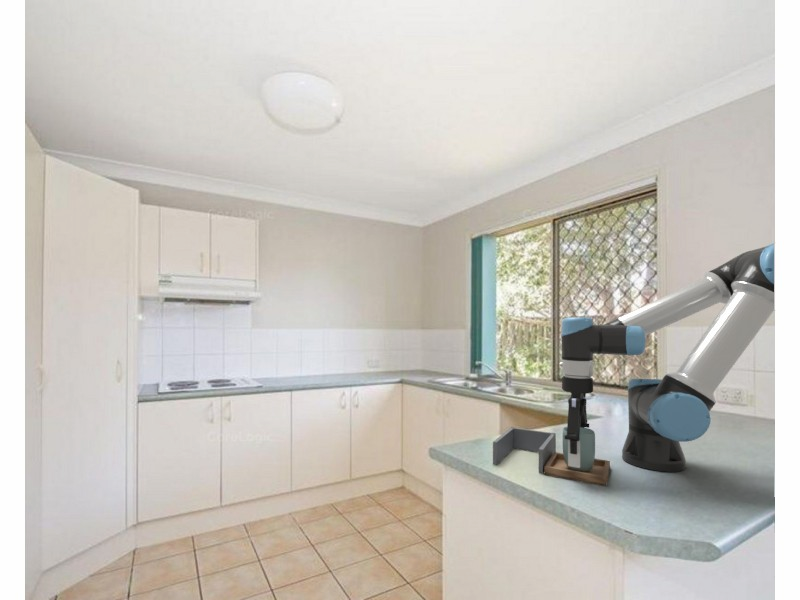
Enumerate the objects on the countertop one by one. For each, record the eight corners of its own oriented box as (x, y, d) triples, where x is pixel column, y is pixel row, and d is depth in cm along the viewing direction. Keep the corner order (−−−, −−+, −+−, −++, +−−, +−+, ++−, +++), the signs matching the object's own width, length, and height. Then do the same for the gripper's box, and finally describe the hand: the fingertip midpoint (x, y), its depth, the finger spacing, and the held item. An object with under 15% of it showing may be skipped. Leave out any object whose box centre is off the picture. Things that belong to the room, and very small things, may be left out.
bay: (555, 454, 122) (555, 433, 122) (542, 473, 106) (542, 449, 106) (511, 446, 129) (511, 427, 129) (492, 464, 113) (492, 441, 113)
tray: (609, 468, 111) (609, 460, 111) (606, 486, 98) (605, 477, 99) (554, 459, 118) (554, 452, 118) (544, 474, 105) (544, 466, 106)
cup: (599, 476, 103) (598, 435, 104) (565, 473, 105) (565, 433, 105) (591, 465, 111) (590, 427, 111) (560, 463, 113) (560, 425, 113)
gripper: (569, 370, 122) (569, 444, 121) (553, 380, 100) (553, 470, 99) (597, 372, 118) (598, 448, 117) (587, 383, 97) (588, 476, 96)
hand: (577, 459), depth 108 cm, fingers open, 13 cm apart
